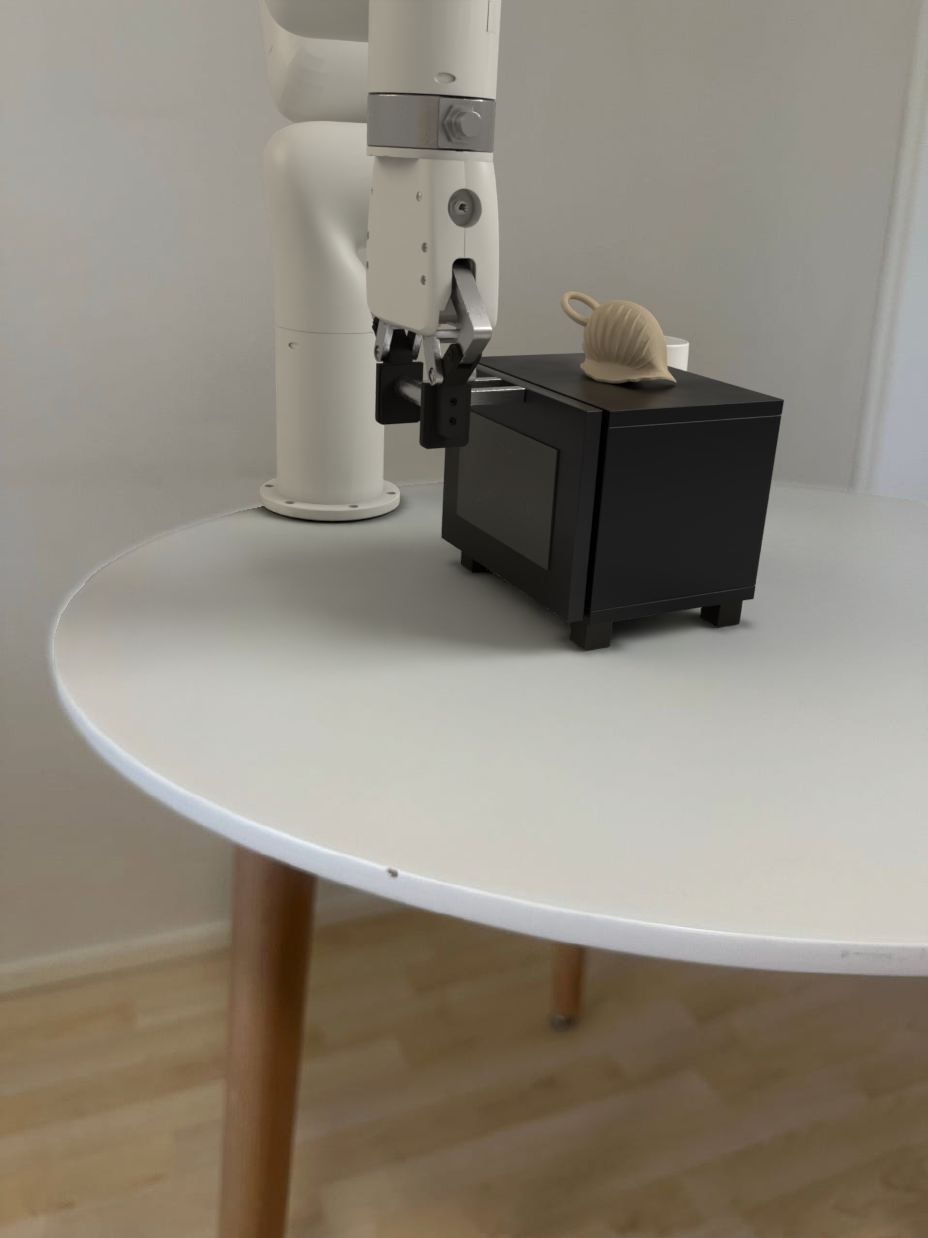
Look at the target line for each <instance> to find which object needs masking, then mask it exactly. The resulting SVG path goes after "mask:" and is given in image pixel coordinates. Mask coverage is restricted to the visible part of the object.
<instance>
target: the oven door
mask: <svg viewBox="0 0 928 1238" xmlns="http://www.w3.org/2000/svg"><path fill="white" fill-rule="evenodd" d="M421 383H429V381H428V379H423V380H420V381H417V380H415V379H413V378H411V377H408V376H406V375H401V376H399V377H397V378H396V379H395V381H394V383H393V390H394V392H395V393H396V394H397V395H398V396H400V397H402V398H404V399H406V400H409V401H411V402H413V403H415V404H417V405H419V406H421ZM602 413H603V411H602V410H600V409H598V408H595V407H592V406H590V405H587V404H584V403H582V402H579V401H576V400H573V399H571V398H568V397H565V396H563V395H560V394H557V393H555V392H552V391H549V390H547V389H544V388H541V387H539V386H536V385H533V384H531V383H528V382H525V381H522V380H520V379H517V378H514V377H512V376H509V375H506V374H504V373H501V372H498V371H496V370H493V369H490V368H488V367H485V366H482V365H480V364H478V365H477V366H476V380H475V382H474V383H473V384H472V389H471V409H470V429H469V442H468V444H467V445H466V446H463V447H450V448H444V462H443V463H444V465H443V466H444V467H443V486H442V487H443V488H442V512H441V531H440V532H441V534H440V538H441V539H442V540H444V541H445V542H447V543H448V544H450V545H451V546H453V547H454V548H456V549H457V550H458V551H460V552H461V551H462V552H463V553H465V554H466V555H468V556H469V557H471V558H472V559H474V560H475V561H477V562H478V563H480V564H481V565H483V566H484V567H486V568H487V569H489V570H488V571H490V572H491V573H493V574H495V575H496V576H497V577H499V578H500V579H502V581H503V580H504V581H505V582H506V583H507V584H509V585H511V586H512V587H514V588H516V589H517V590H519V591H520V592H521V593H523V594H524V595H526V596H527V597H529V598H530V599H531V600H533V601H535V602H536V603H537V604H539V605H541V606H542V607H544V608H545V609H547V611H550V612H551V613H552V614H554V615H555V616H557V617H559V618H560V619H561V620H563V621H564V622H566V623H568V624H569V623H571V622H576V621H582V620H583V615H584V605H585V594H586V583H587V573H588V562H589V551H590V541H591V530H592V519H593V509H594V498H595V487H596V477H597V466H598V455H599V445H600V434H601V423H602Z"/></svg>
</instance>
